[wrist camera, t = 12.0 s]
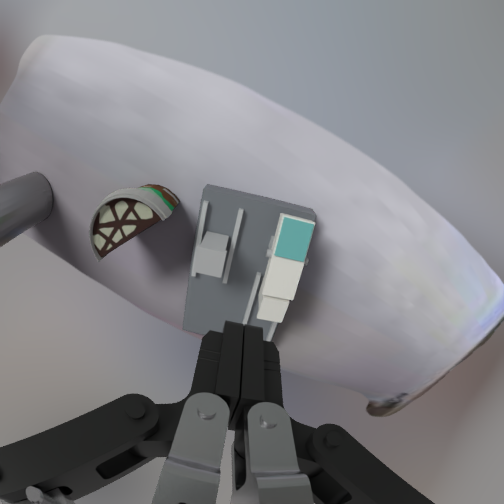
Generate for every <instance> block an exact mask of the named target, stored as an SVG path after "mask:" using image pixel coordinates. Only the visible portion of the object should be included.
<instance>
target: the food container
mask: <svg viewBox="0 0 504 504" xmlns="http://www.w3.org/2000/svg"><path fill="white" fill-rule="evenodd" d="M179 202H180V201H179V199H178V198H177V196H176V195H175V194H174V193H172V192H171V191H170V190H169V189H167V188H165V187H162V186H160V185H151V184H148V185H145V186H142V187H139V188H124V189H120V190H117V191H115V192H113V193H111V194H110V195H108V196H107V197H106V198H105V199H104V200H103V201H102V202H101V203H100V205H99V206H98V207H97V209H96V210H95V212H94V214H93V217H92V220H91V224H90V230H89V238H90V244H91V247H92V251H93V253H94V255H95V257H96V259H97V261H98V262H99V261H100V260H101V259H103V258H104V257H105V256H106V255H107V254H108V253H110V252H111V251H113V250H114V249H116V248H117V247H119V246H120V245H122V244H123V243H125V242H127V241H128V240H130V239H131V238H133V237H134V236H136V235H137V234H139V233H141V232H142V231H144V230H146V229H147V228H149V227H150V226H152V225H154V224H155V223H157V222H158V221H160V220H163V221H164V220H165V219H166V218H168V217H169V216H170V215H171V214H172V210H173V209H174V208H175V207H176V206H177V204H178V203H179Z"/></svg>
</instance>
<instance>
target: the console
mask: <svg viewBox="0 0 504 504" xmlns="http://www.w3.org/2000/svg"><path fill="white" fill-rule="evenodd" d="M280 213H284V214H288V215H292V216H296V217H300V218H303V219H307V220H311V221H313V222H314V221H315V218H316V214H315V213H314V211H313V209H310V208H307V207H303V206H299V205H295V204H291V203H287V202H283V201H279V200H275V199H271V198H267V197H263V196H259V195H254V194H250V193H246V192H241V191H237V190H232V189H228V188H223V187H218V186H214V185H209V184H207V185H206V186H205V188H204V189H203V194H202V199H201V205H200V210H199V216H198V222H197V228H196V234H195V240H194V246H193V253H192V259H191V266H190V273H189V280H188V288H187V296H186V304H185V312H184V321H183V330H185V331H189V332H194V333H198V334H203V335H206V334H207V333H208V332H209V330H212V331H217V332H221V333H222V332H223V328H224V323H225V320H227V321H232V322H237V323H242V324H243V325H244V324H247V325H252V326H258V327H262V328H263V340H264V341H270V342H271V341H272V338H273V336H274V333H275V331H276V328H277V326H278V323H279V322H274V321H268V320H263V319H257V313H258V310H259V291H260V287H261V284H262V281H263V277H264V276H265V272H266V268H267V264H268V260H269V257H266V251H267V249H272V245H273V241H274V237H275V233H276V229H277V225H278V221H279V217H280ZM207 231H209V232H214V233H218V234H223V235H227V236H229V238H228V243H227V247H226V251H227V253H226V257H225V262H224V267H223V271H222V276H221V278H219V277H215V276H210V275H206V274H201V273H197V272H194V265H195V259H196V253H197V246H198V244H199V245H201V243H202V241H203V239H204V236H205V234H206V232H207Z"/></svg>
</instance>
